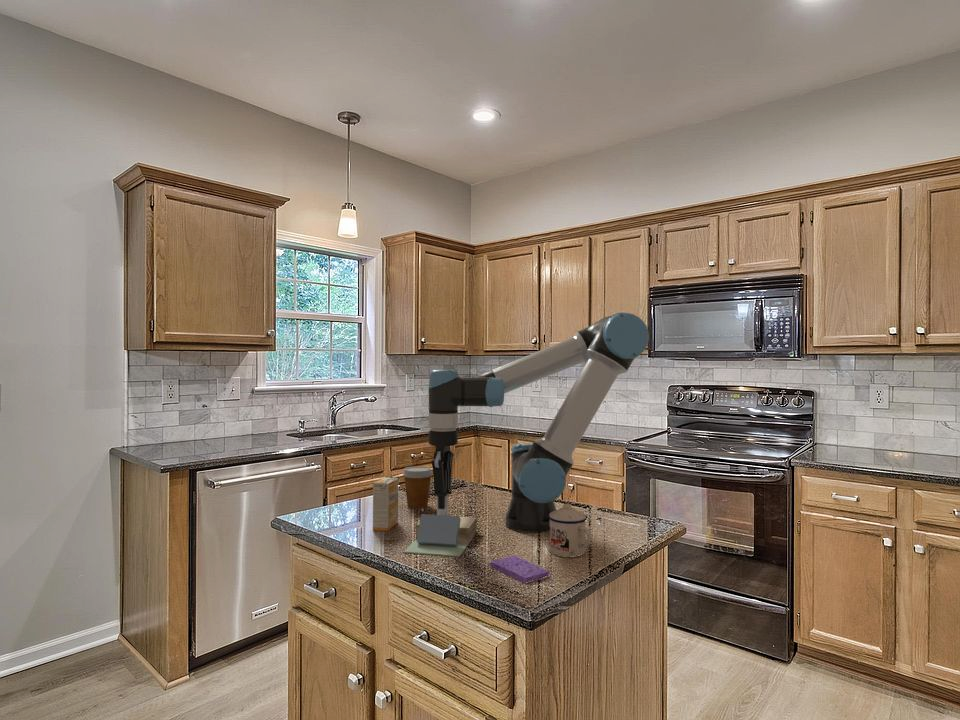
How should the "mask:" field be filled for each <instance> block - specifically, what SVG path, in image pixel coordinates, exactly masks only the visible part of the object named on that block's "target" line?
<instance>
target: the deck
mask: <svg viewBox="0 0 960 720" xmlns="http://www.w3.org/2000/svg"><path fill="white" fill-rule="evenodd" d="M459 517H460V519H461V520H460V528H459V535H458V542H462V543H469V544H470V543H471V541H472V540H473V538H474V537H475V536H476V534H477V533H478V532H477V531H478V529H477V527H478V525H477V523H478V521H477V519H478V518H477V517H475V516H473V517H471V516H459ZM419 524H420V521H419V522H417V524H415V540H416V539H417V536H418V530H419Z"/></svg>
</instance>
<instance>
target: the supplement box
mask: <svg viewBox="0 0 960 720" xmlns="http://www.w3.org/2000/svg"><path fill="white" fill-rule="evenodd" d="M398 523H399V478H398V477H382V478H381V479H378V480H376V481H374V482H372V531H383V532H388V531H389V530H391V529H392V528H393V527H395V526H396V525H397V524H398Z"/></svg>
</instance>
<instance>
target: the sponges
mask: <svg viewBox="0 0 960 720" xmlns="http://www.w3.org/2000/svg"><path fill="white" fill-rule="evenodd" d="M490 567H491V568H493V569H495V570H497V571H499V572H501V573H502V574H505V575H506V576H509V577H511V578H513V579H514V578H515V580H516V579H517V581H518V580H519V582H520V581H522V582H524V583H526V582H529V581H532V580H536V579H540V578H543V577H545V576H548V575H550V570H548V569H546V568H544V567H541V566H538V565H536V564H534V563H532V562H530V561H528V560H526V559H524V558H521V557H519V556H517V555H515V554H513V555H509V556H505V557H504V558H499V559H495V560H492V561H490ZM543 579H544V578H543ZM540 580H541V579H540ZM536 581H537V580H536ZM522 582H521V583H522ZM524 583H523V584H524ZM529 583H530V582H529ZM526 584H527V583H526Z"/></svg>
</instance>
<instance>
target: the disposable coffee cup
mask: <svg viewBox="0 0 960 720" xmlns="http://www.w3.org/2000/svg"><path fill="white" fill-rule="evenodd" d="M402 475H403V479H404V486H405V494H406V502H407V503H406V504H407V508H408V509H413V510H414V509H416V510H419V509H425V508H427V507H428V503H429V497H430V490H431V489H430V488H431V480H432V476H433V469H432V468H431V467H429V466H424V465H423V466H422V465H421V466H420V465H418V466H417V465H416V466H414V465H413V466H408V467H404V468H403V471H402Z"/></svg>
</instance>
